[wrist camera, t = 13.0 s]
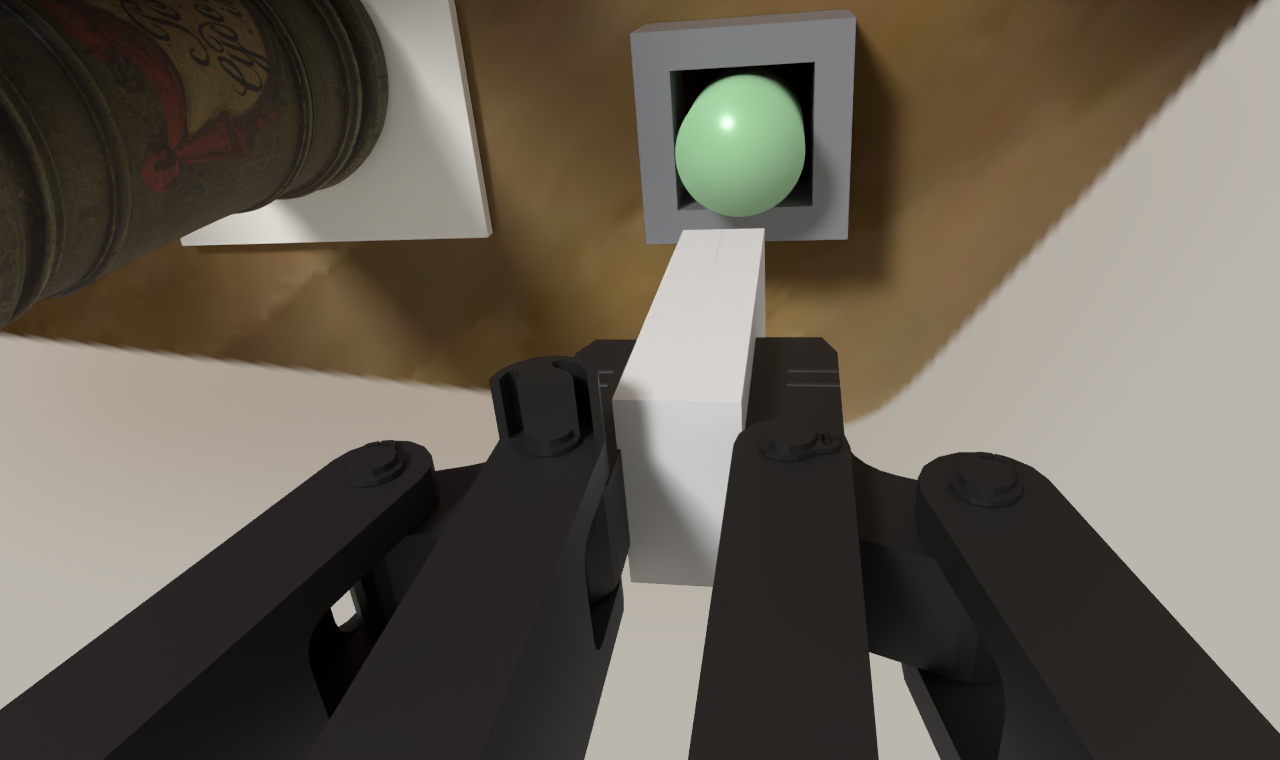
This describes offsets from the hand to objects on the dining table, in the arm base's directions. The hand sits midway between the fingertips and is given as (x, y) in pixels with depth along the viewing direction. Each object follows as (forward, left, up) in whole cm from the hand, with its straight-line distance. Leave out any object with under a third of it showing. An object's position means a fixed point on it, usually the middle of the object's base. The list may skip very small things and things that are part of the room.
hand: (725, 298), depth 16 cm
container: (-18, +3, -17) cm, 25 cm away
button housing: (0, 0, -17) cm, 17 cm away
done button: (0, 0, -17) cm, 17 cm away
